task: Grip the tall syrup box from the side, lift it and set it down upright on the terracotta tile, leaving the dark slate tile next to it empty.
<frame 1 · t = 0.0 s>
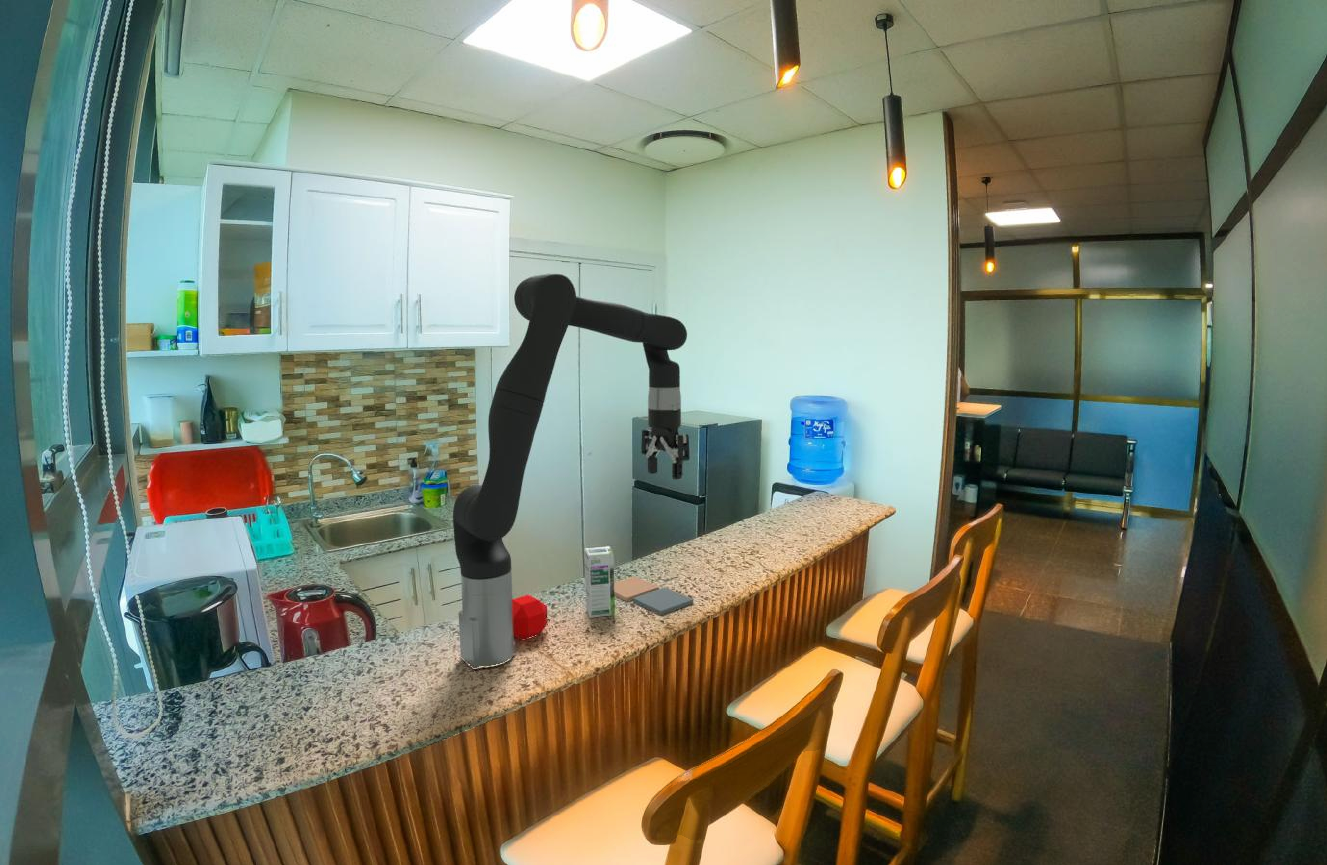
hand: (664, 476, 146), 29 cm above the counter, tool pointing down, fingers open, 8 cm apart
syrup box: (600, 612, 141), on the counter
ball: (526, 635, 130), on the counter
terracotta tile: (630, 590, 153), on the counter
slate tile: (663, 602, 146), on the counter
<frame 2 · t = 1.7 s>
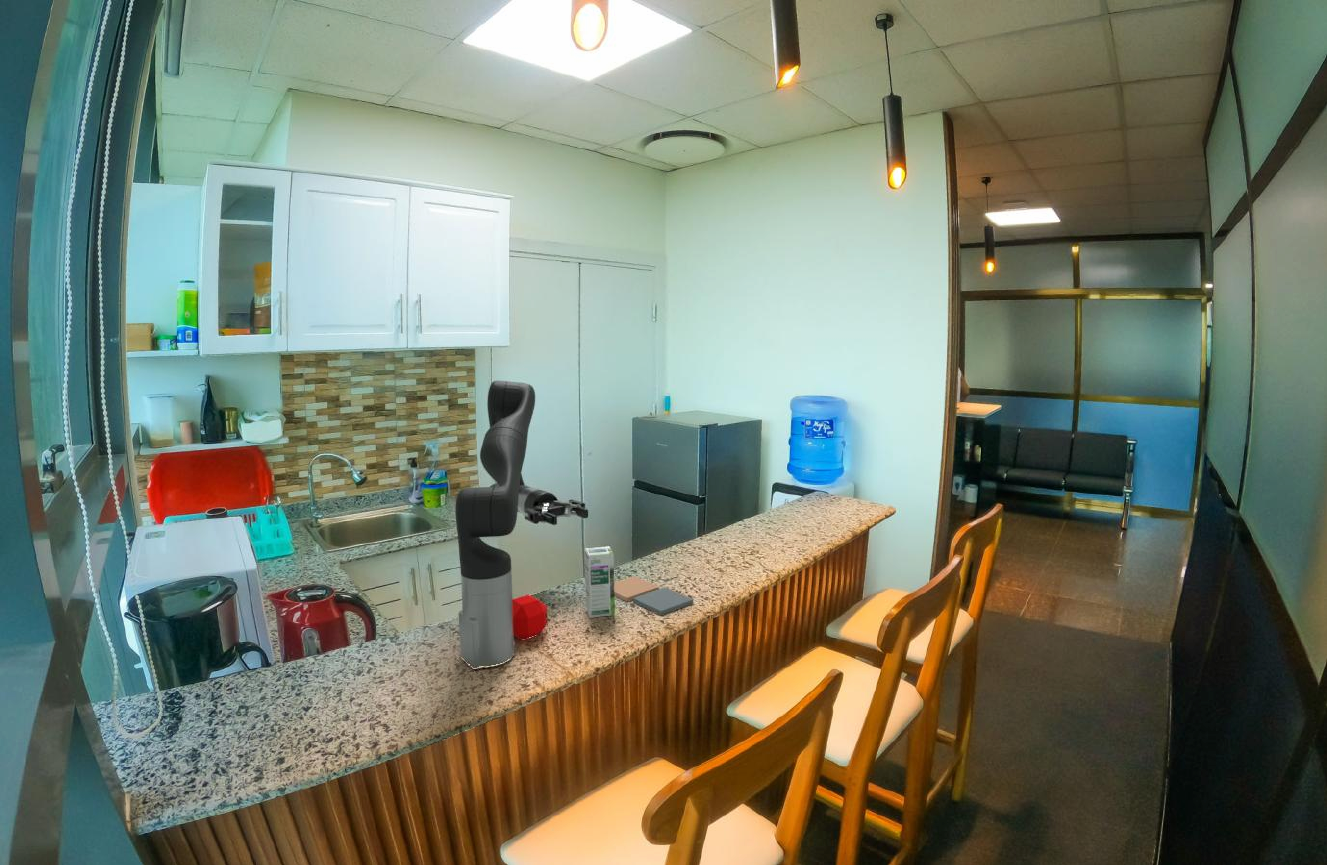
hand: (571, 517, 146), 20 cm above the counter, tool horizontal, fingers open, 8 cm apart
nothing on the counter moved.
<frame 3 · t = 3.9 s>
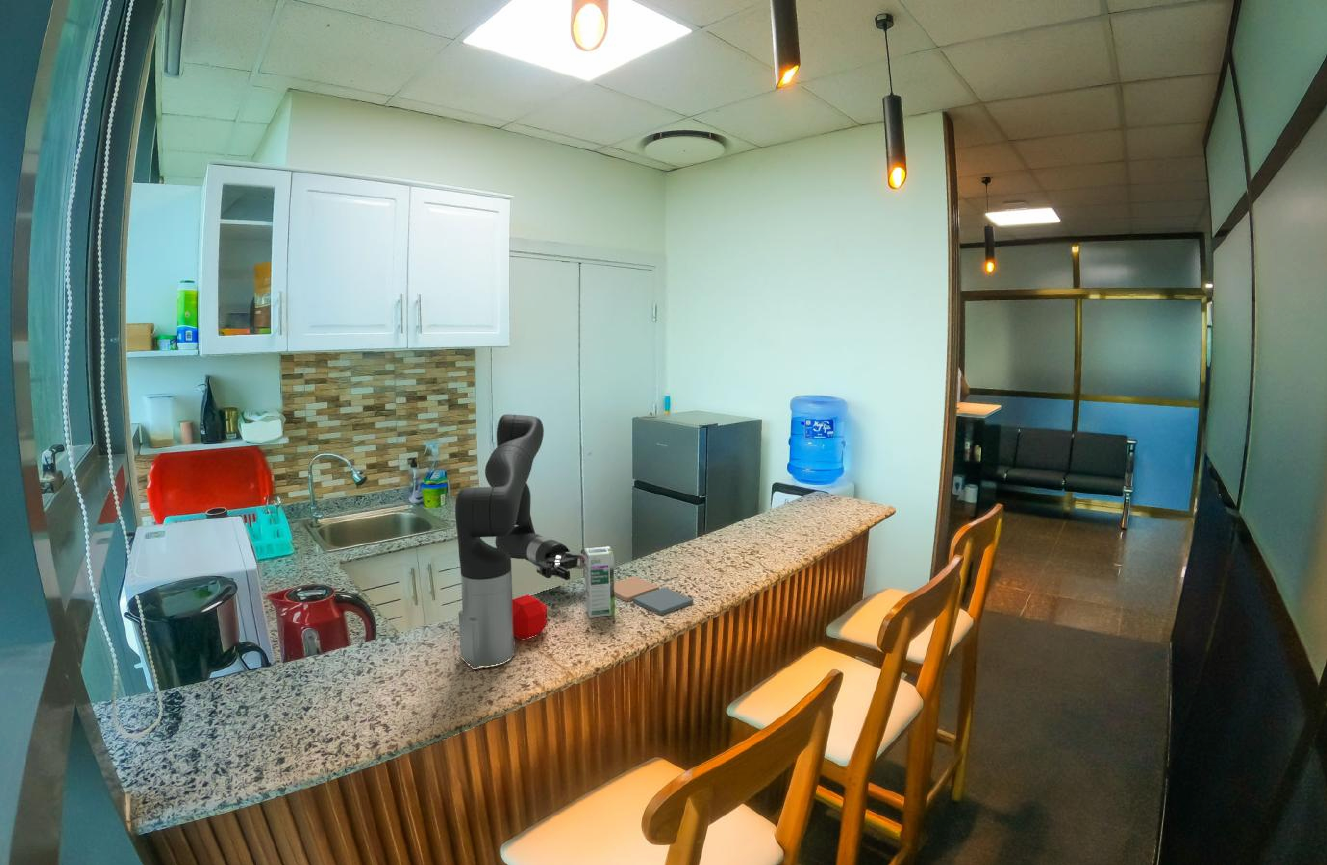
hand: (584, 571, 144), 8 cm above the counter, tool horizontal, fingers open, 8 cm apart
nothing on the counter moved.
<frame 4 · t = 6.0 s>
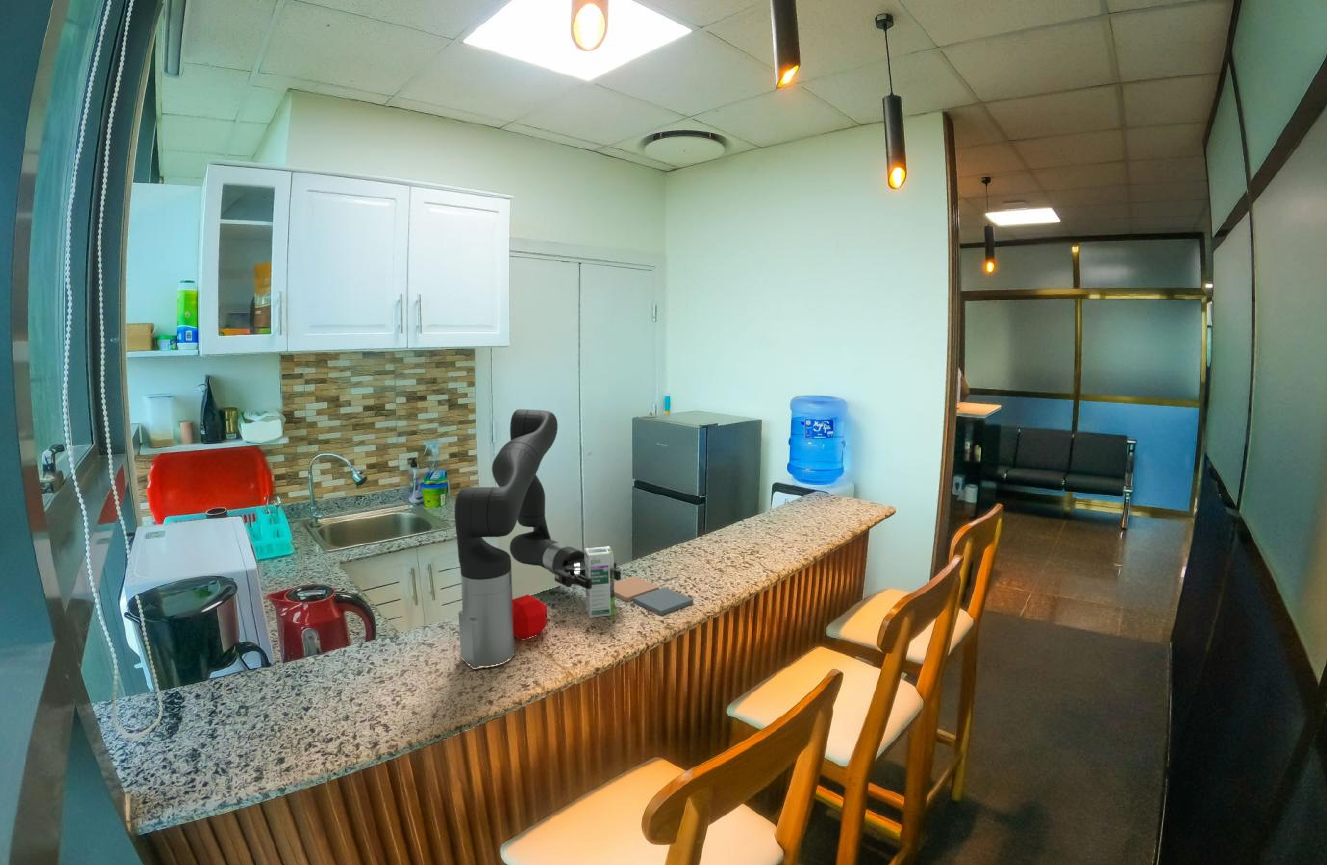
hand: (605, 580, 138), 8 cm above the counter, tool horizontal, fingers closed on syrup box, 7 cm apart
syrup box: (600, 612, 141), on the counter, touching gripper
everything else where it was.
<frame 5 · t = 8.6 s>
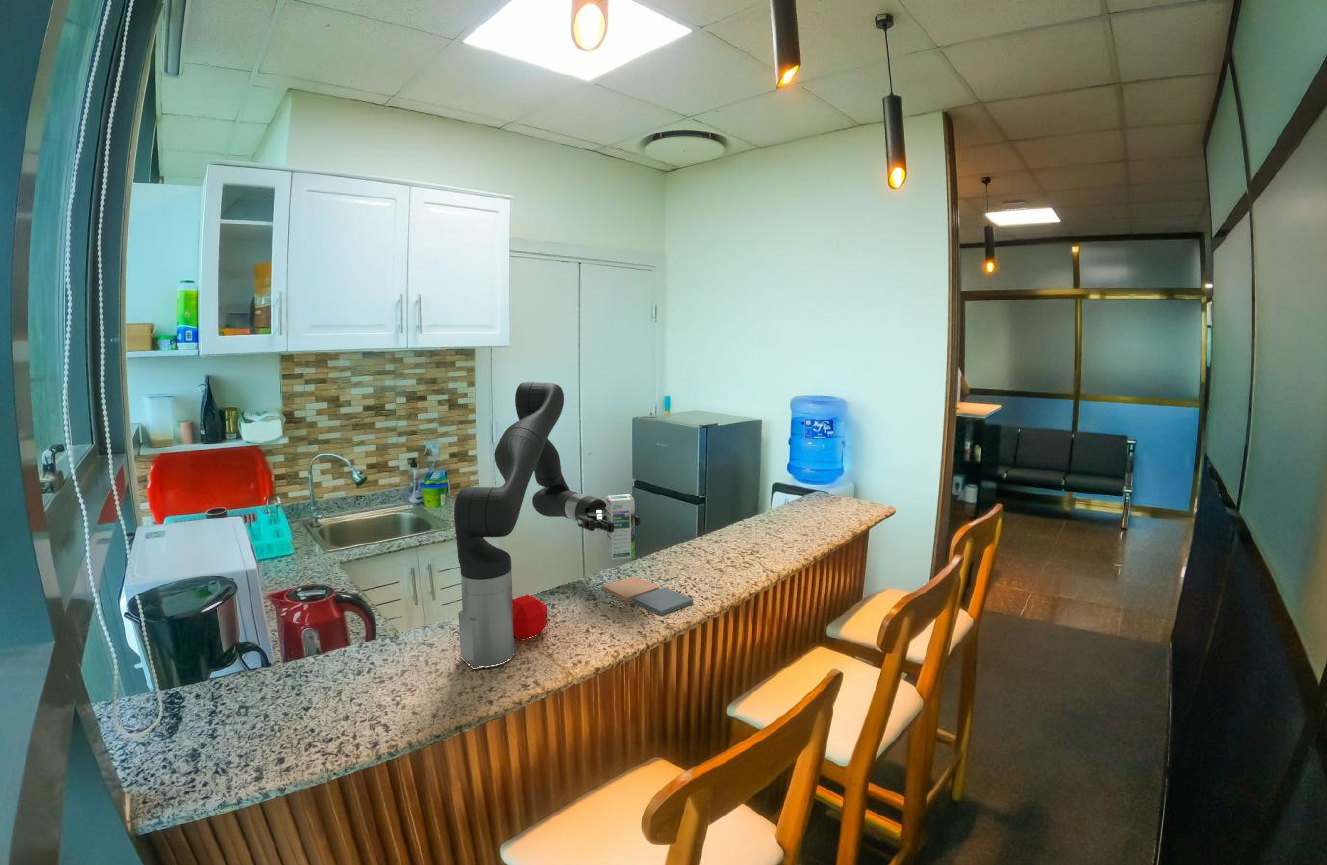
hand: (626, 524, 146), 18 cm above the counter, tool horizontal, fingers closed on syrup box, 7 cm apart
syrup box: (620, 556, 149), point 10 cm above the counter, touching gripper
everything else where it was.
when the fingers open (10 cm above the counter, at t = 11.4 s): syrup box drops 1 cm, resting on terracotta tile.
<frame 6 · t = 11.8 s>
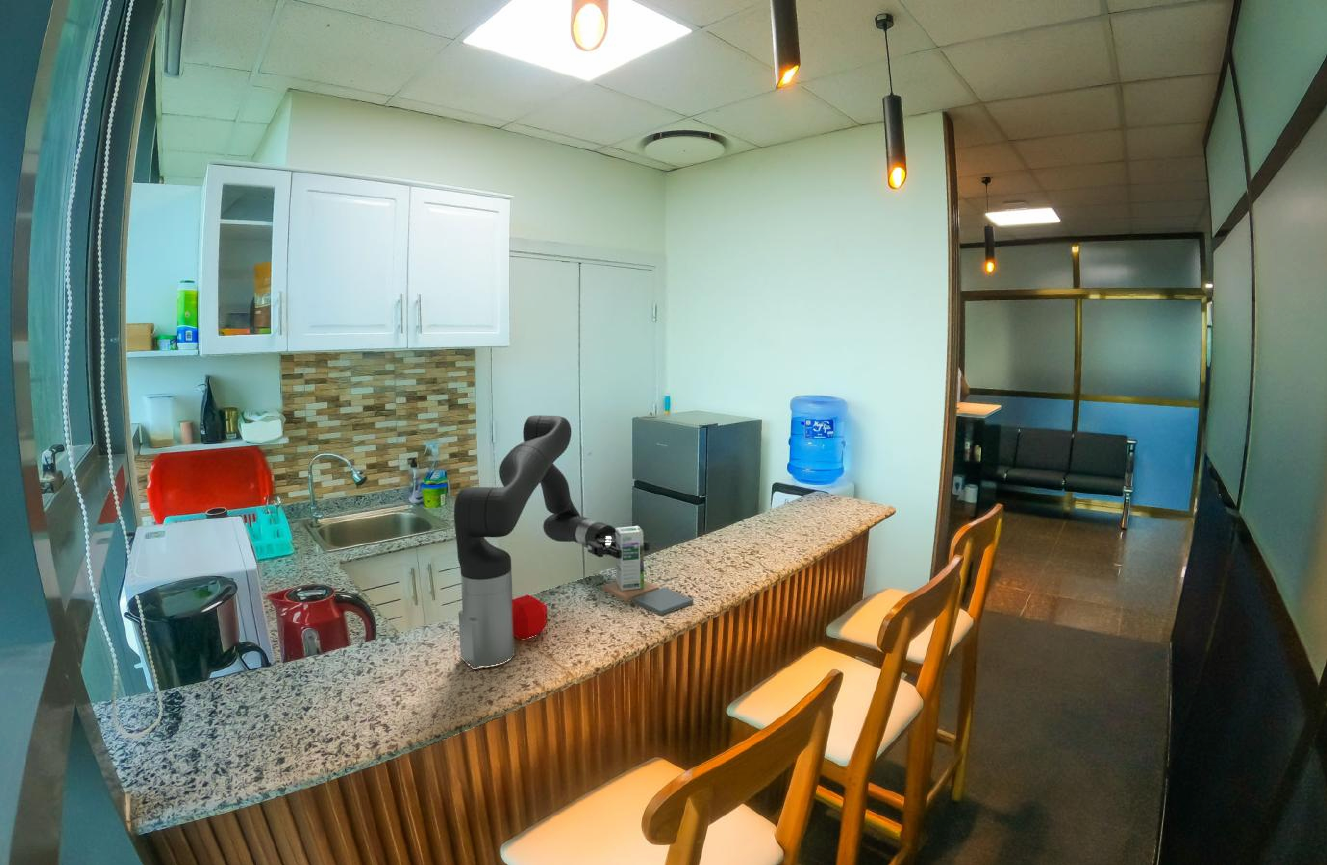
hand: (634, 550, 150), 11 cm above the counter, tool horizontal, fingers open, 8 cm apart
syrup box: (630, 586, 153), point 1 cm above the counter, touching terracotta tile
everything else where it was.
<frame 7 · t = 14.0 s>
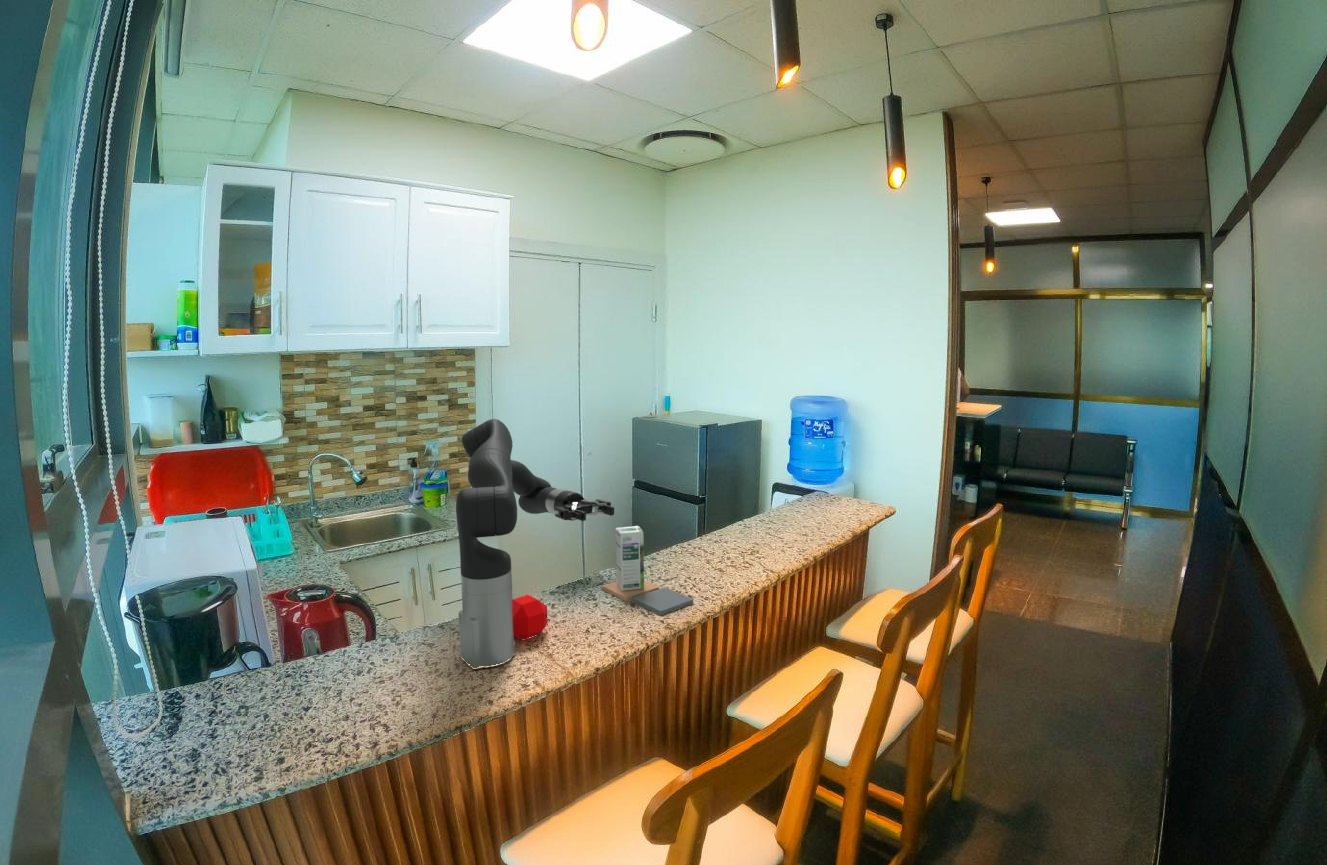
hand: (599, 514, 157), 18 cm above the counter, tool horizontal, fingers open, 8 cm apart
nothing on the counter moved.
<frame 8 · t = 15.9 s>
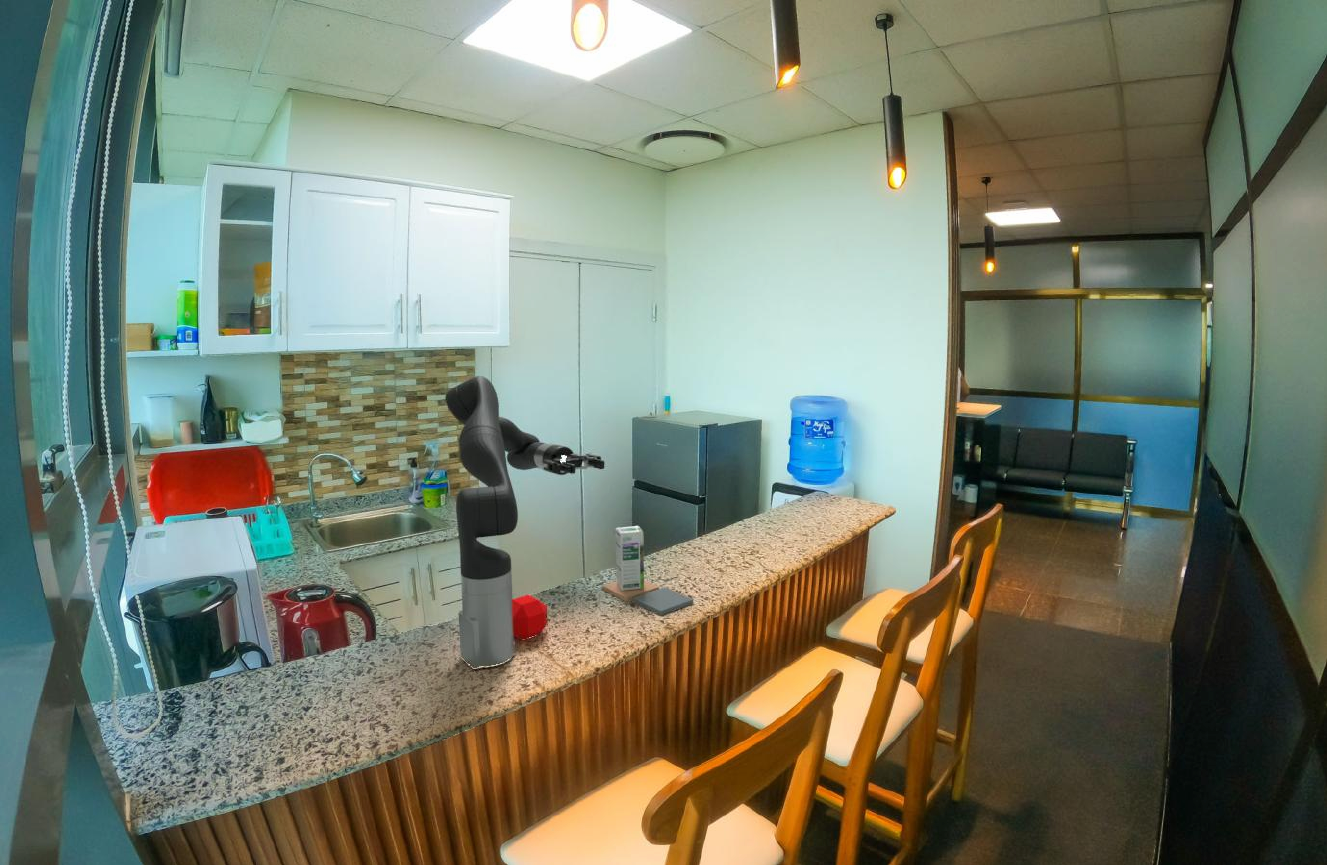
hand: (588, 467, 153), 30 cm above the counter, tool horizontal, fingers open, 8 cm apart
nothing on the counter moved.
at the end: syrup box 0.2 cm off-centre on the terracotta tile, point 0.8 cm above the terracotta tile's base; syrup box tilted 0°; the gripper is holding nothing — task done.
